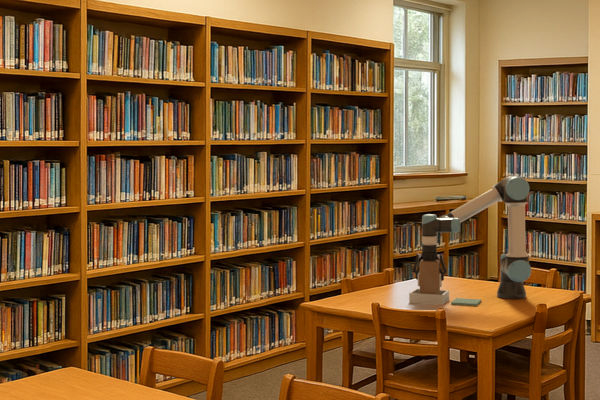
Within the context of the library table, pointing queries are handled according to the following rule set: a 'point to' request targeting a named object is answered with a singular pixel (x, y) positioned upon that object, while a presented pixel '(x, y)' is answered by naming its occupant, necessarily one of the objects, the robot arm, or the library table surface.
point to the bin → (429, 297)
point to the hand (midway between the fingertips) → (429, 286)
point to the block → (429, 277)
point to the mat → (466, 302)
